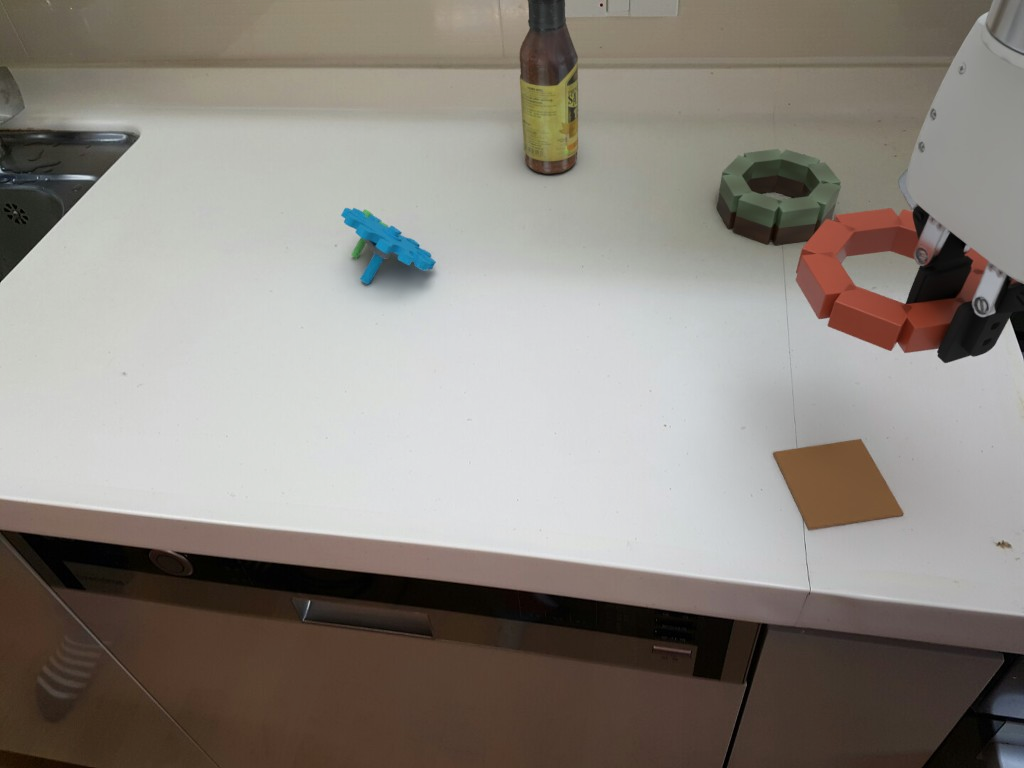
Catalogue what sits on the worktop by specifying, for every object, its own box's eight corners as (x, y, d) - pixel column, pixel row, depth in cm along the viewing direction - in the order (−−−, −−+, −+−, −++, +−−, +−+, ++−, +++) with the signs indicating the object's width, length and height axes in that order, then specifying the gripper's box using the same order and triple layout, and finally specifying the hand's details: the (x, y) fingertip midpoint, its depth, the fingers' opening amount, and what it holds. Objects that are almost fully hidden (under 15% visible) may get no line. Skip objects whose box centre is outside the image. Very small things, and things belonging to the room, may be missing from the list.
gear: (454, 270, 76) (368, 229, 69) (422, 321, 77) (335, 285, 71) (412, 226, 84) (332, 185, 77) (385, 273, 85) (303, 237, 79)
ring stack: (803, 177, 86) (811, 144, 83) (846, 236, 79) (856, 202, 76) (706, 189, 86) (710, 157, 83) (739, 250, 78) (746, 216, 75)
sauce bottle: (581, 174, 89) (583, -9, 75) (526, 179, 89) (517, -4, 75) (574, 144, 94) (574, -34, 79) (522, 149, 94) (512, -29, 79)
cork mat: (860, 441, 61) (861, 438, 61) (902, 515, 56) (904, 513, 56) (772, 454, 61) (773, 451, 61) (808, 530, 56) (809, 528, 56)
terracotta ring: (935, 226, 53) (945, 200, 51) (1029, 337, 45) (1044, 311, 44) (774, 246, 52) (780, 221, 51) (842, 361, 45) (851, 336, 43)
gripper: (1366, 72, 28) (1109, 414, 41) (1021, -64, 38) (906, 243, 52) (1200, 117, 26) (989, 456, 40) (890, -37, 37) (806, 271, 50)
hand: (943, 333), depth 46 cm, fingers closed on terracotta ring, 2 cm apart
